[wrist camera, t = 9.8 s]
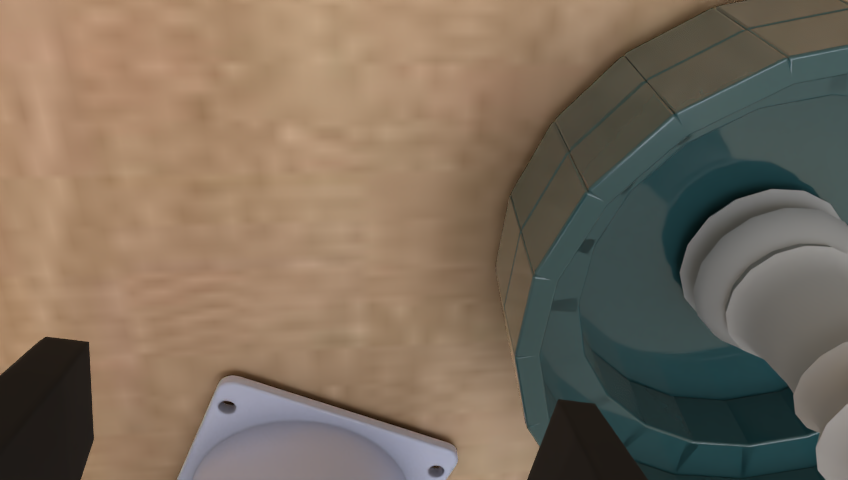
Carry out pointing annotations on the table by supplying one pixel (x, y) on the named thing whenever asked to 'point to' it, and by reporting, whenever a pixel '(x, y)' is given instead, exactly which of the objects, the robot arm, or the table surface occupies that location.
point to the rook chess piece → (782, 301)
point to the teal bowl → (672, 235)
